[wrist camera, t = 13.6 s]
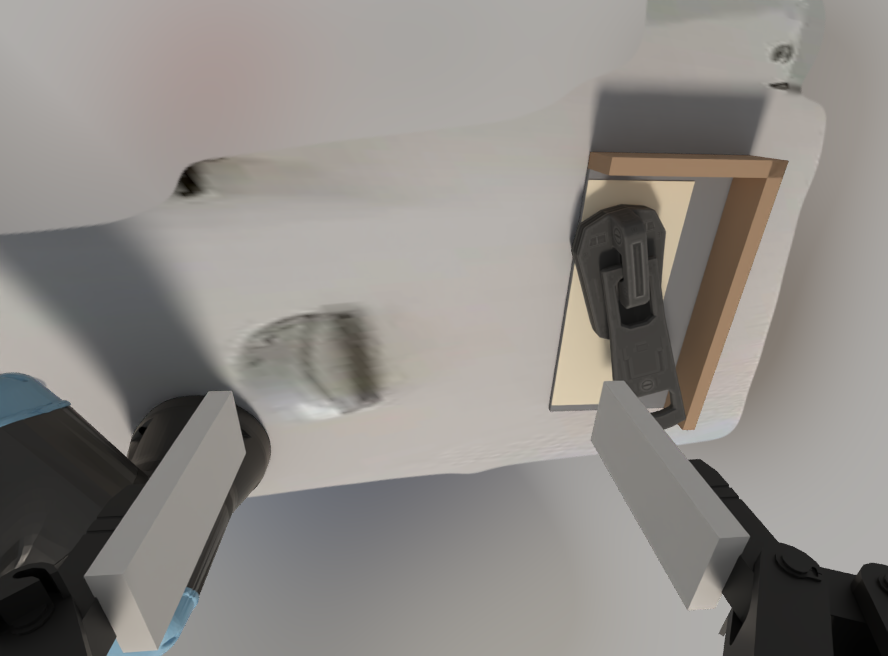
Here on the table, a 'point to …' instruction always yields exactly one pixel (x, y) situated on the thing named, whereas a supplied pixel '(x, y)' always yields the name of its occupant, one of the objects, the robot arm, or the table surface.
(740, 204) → the tray
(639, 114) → the table surface
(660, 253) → the zipper pull
